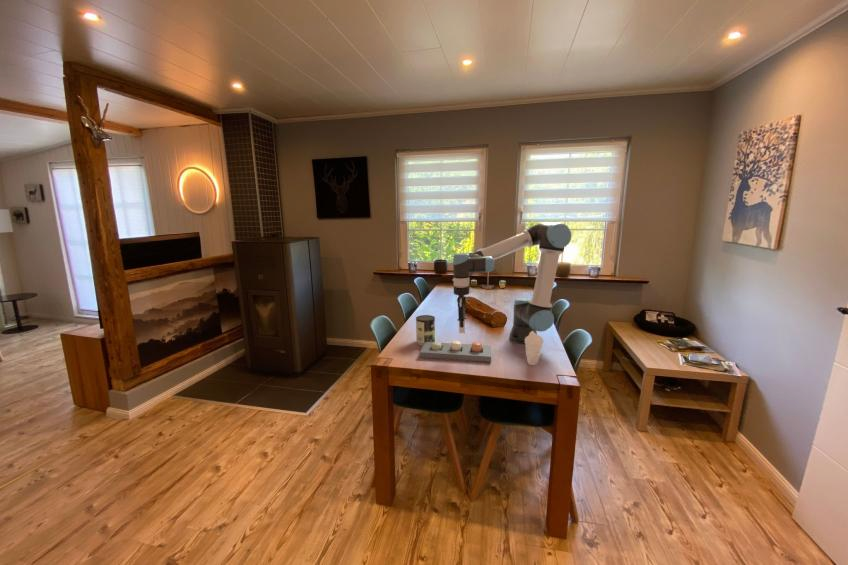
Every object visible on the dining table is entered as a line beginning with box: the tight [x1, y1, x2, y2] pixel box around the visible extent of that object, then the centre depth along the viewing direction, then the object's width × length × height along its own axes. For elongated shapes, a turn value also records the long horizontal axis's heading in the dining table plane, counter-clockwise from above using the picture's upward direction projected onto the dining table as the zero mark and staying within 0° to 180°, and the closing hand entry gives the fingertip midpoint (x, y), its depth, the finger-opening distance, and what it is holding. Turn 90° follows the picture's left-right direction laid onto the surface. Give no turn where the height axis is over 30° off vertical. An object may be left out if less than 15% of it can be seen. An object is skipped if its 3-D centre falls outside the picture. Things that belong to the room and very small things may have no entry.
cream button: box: [450, 340, 462, 351], centre depth 171 cm, size 5×5×4 cm
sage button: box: [431, 341, 442, 350], centre depth 173 cm, size 5×5×4 cm
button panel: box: [419, 342, 492, 363], centre depth 171 cm, size 34×14×3 cm, turn 80°
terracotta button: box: [471, 341, 483, 353], centre depth 169 cm, size 5×5×4 cm
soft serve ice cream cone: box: [524, 331, 544, 366], centre depth 159 cm, size 8×8×16 cm
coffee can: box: [415, 314, 436, 346], centre depth 187 cm, size 10×10×14 cm
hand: (462, 332), depth 169 cm, fingers closed
